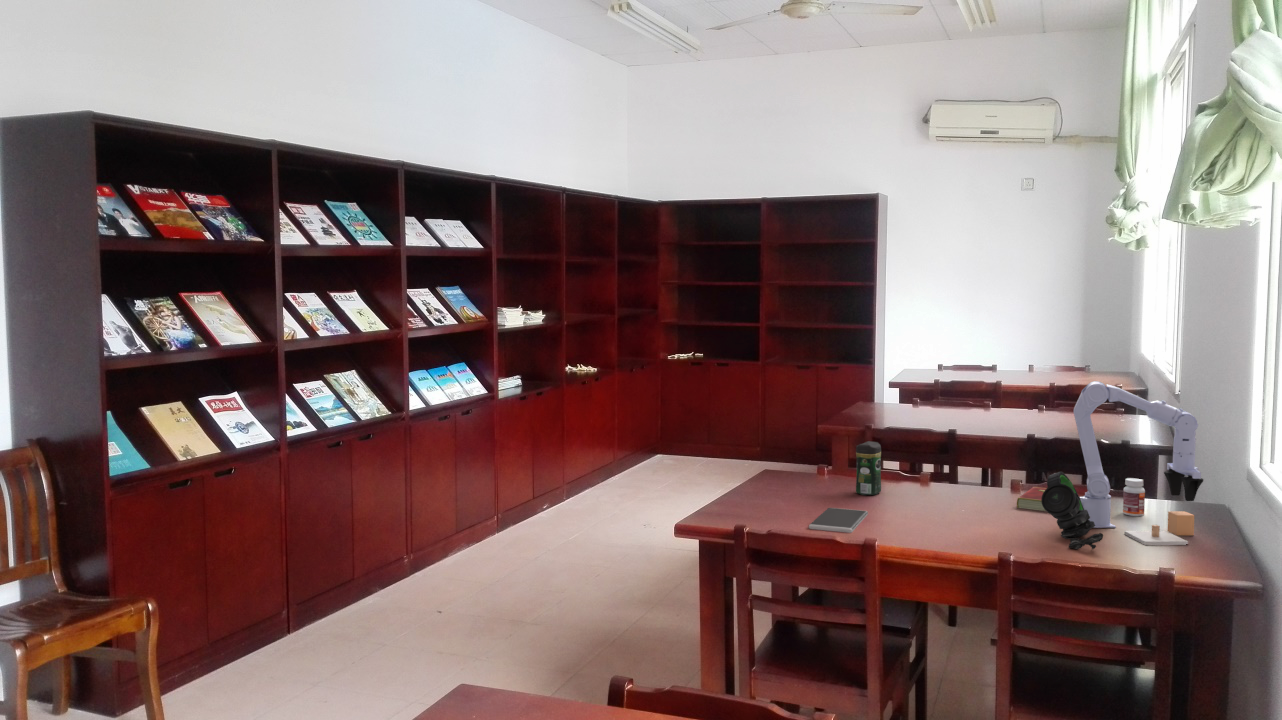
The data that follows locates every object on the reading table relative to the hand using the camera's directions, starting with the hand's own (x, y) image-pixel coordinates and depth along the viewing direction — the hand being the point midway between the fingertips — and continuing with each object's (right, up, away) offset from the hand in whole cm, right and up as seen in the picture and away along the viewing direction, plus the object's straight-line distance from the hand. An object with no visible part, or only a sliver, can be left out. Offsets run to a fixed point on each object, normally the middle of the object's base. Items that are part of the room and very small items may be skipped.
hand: (1182, 498), depth 282 cm
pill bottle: (-2, -9, +24) cm, 25 cm away
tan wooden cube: (-1, -10, 0) cm, 10 cm away
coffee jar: (-80, -7, +58) cm, 99 cm away
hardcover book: (-25, -8, +39) cm, 47 cm away
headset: (-34, -11, -6) cm, 37 cm away
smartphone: (-99, -11, +18) cm, 101 cm away
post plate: (-12, -11, -7) cm, 18 cm away
